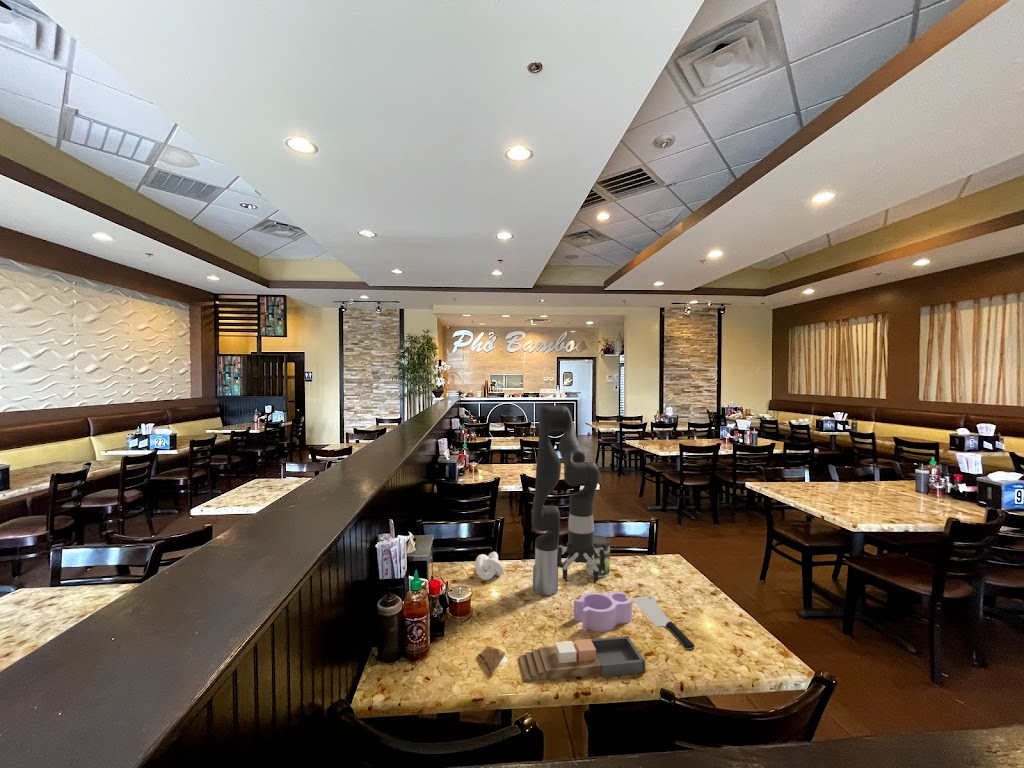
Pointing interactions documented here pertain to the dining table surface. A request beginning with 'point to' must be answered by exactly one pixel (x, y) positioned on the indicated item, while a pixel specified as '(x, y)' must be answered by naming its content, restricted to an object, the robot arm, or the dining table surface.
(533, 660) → the brown stairs
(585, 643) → the tile terracotta
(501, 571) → the white knot
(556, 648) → the tile cream
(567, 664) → the board
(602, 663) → the box
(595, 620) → the purple double cup holder
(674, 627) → the kitchen cleaver
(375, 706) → the dining table surface
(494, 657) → the shard
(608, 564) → the coffee can
